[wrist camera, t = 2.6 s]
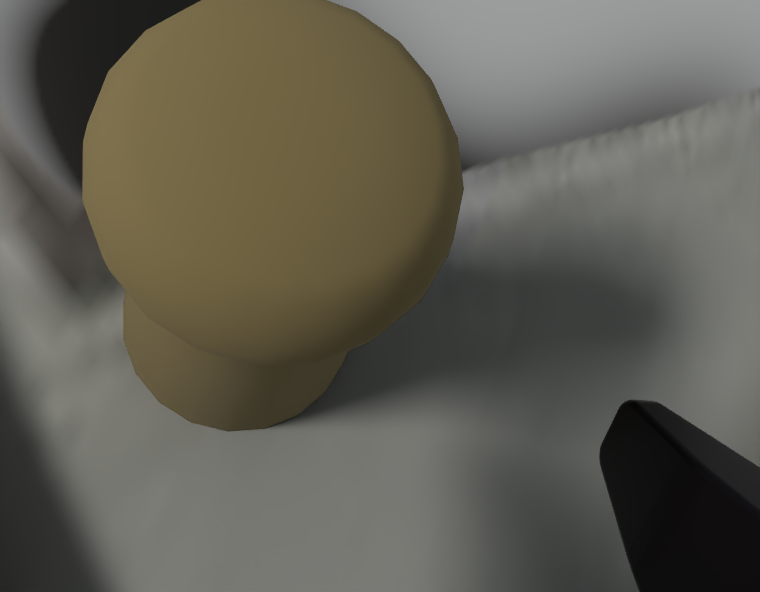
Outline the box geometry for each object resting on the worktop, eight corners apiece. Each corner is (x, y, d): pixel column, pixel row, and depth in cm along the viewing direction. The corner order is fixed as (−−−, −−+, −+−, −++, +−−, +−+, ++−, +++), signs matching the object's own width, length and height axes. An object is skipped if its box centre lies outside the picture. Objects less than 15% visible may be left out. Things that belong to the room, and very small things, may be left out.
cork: (282, 176, 20) (375, -144, 9) (391, 358, 19) (615, 231, 9) (78, 271, 18) (-88, -3, 7) (194, 477, 17) (188, 491, 7)
